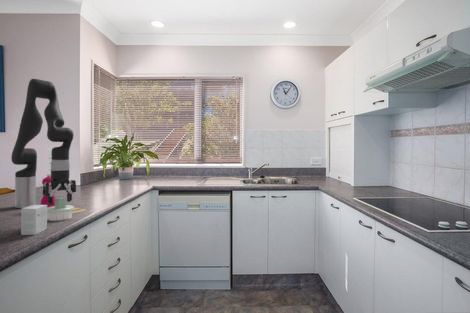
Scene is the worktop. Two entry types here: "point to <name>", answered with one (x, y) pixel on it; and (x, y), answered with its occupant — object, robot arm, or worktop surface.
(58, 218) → the bowl
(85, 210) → the plate
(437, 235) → the worktop surface
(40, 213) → the small box
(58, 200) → the lid
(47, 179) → the pepper mill
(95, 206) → the worktop surface
